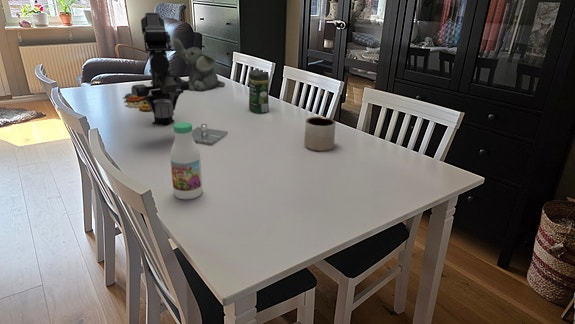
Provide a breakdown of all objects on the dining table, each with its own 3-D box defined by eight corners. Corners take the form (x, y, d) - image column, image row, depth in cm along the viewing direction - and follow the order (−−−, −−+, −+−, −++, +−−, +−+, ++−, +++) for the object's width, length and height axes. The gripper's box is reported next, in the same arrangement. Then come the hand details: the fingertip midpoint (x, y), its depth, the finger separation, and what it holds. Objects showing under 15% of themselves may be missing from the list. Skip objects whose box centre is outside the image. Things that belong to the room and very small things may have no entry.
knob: (150, 116, 135) (148, 101, 133) (162, 111, 141) (160, 97, 139) (166, 118, 133) (164, 104, 131) (177, 113, 139) (176, 99, 137)
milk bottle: (176, 186, 109) (170, 119, 101) (204, 186, 110) (199, 119, 102) (171, 200, 102) (163, 129, 94) (201, 200, 103) (196, 129, 95)
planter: (336, 143, 144) (338, 118, 140) (329, 153, 135) (332, 128, 131) (308, 139, 147) (310, 115, 143) (300, 149, 138) (301, 123, 134)
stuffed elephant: (174, 89, 208) (170, 37, 197) (197, 82, 226) (194, 34, 214) (204, 94, 201) (201, 40, 190) (225, 86, 219) (224, 36, 208)
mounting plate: (180, 140, 141) (179, 128, 139) (197, 129, 153) (197, 117, 151) (212, 145, 138) (211, 132, 136) (227, 133, 149) (227, 121, 147)
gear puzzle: (165, 111, 174) (164, 103, 172) (127, 115, 168) (126, 106, 166) (156, 94, 200) (155, 87, 198) (122, 97, 193) (121, 89, 191)
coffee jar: (246, 109, 180) (245, 69, 172) (261, 107, 184) (261, 67, 176) (256, 114, 172) (255, 73, 165) (271, 112, 176) (272, 71, 169)
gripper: (140, 74, 119) (146, 122, 125) (195, 68, 130) (198, 113, 136) (127, 68, 127) (134, 113, 133) (180, 63, 138) (184, 105, 144)
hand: (163, 111), depth 136 cm, fingers closed on knob, 7 cm apart
